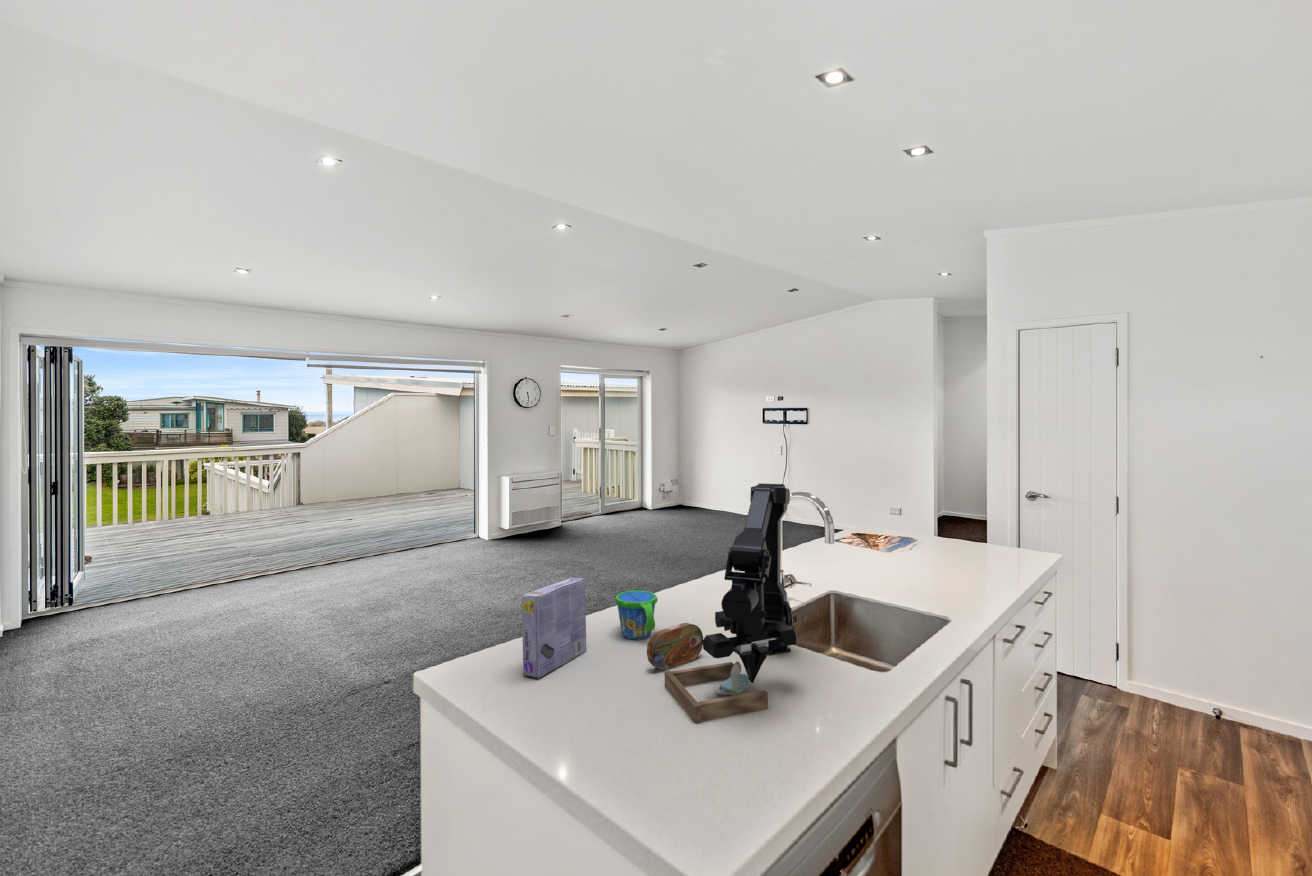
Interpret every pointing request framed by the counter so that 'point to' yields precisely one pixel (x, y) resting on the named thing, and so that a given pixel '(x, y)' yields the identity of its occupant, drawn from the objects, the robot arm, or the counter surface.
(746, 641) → the robot arm
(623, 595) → the snack cup
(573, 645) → the cake pan box
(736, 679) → the pacifier
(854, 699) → the counter surface
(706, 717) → the walnut bay
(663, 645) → the tin
